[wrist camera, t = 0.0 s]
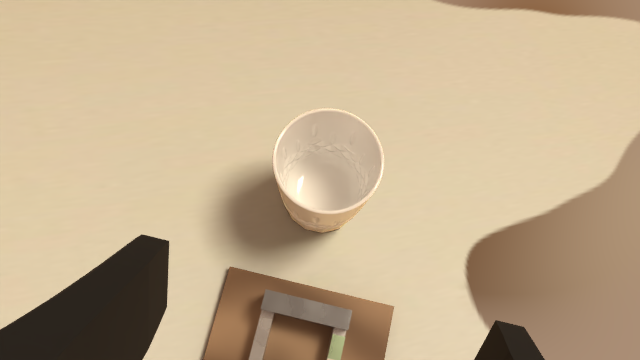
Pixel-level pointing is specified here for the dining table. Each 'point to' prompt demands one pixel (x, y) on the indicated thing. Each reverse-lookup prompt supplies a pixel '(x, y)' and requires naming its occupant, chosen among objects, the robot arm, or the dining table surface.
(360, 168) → the white cup
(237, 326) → the walnut board
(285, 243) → the dining table surface
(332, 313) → the gauge body
